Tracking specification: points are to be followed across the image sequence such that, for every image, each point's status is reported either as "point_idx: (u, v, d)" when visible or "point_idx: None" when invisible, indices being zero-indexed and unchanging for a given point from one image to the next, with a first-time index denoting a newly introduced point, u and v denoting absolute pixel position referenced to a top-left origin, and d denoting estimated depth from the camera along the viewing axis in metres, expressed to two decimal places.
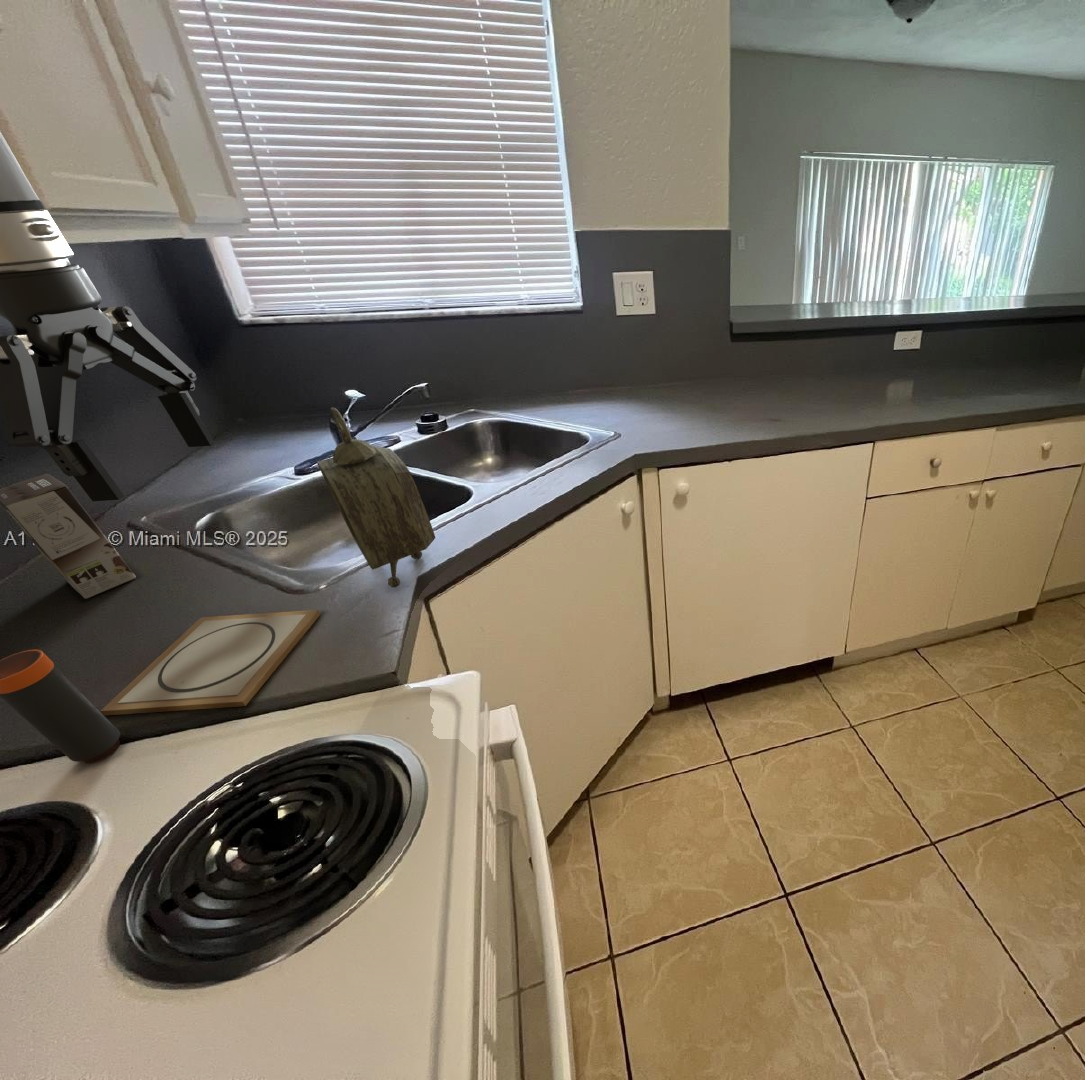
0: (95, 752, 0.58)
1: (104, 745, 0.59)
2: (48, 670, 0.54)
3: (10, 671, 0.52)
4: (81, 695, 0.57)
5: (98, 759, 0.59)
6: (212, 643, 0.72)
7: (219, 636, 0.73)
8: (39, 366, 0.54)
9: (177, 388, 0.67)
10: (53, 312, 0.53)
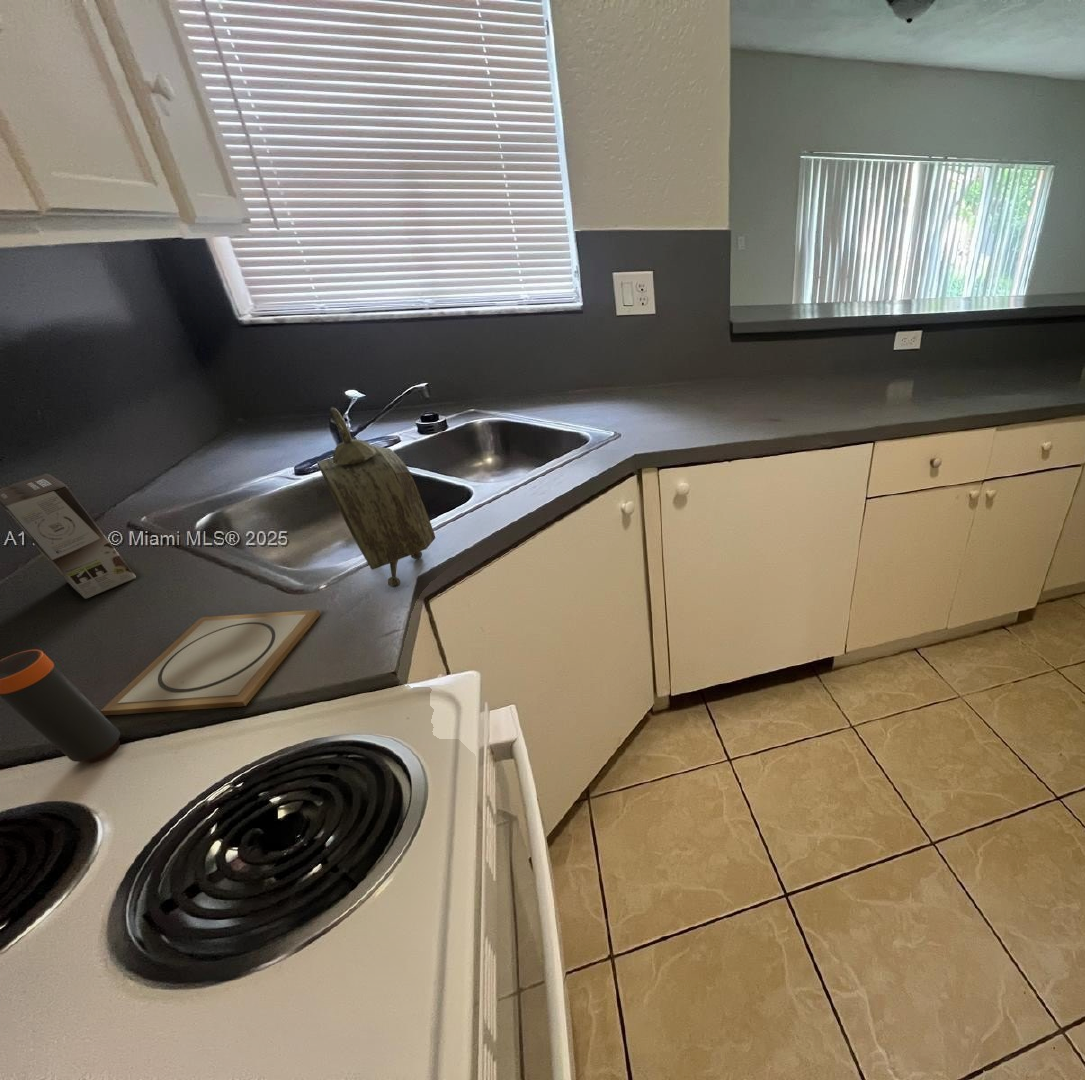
0: (95, 752, 0.58)
1: (104, 745, 0.59)
2: (48, 670, 0.54)
3: (10, 671, 0.52)
4: (81, 695, 0.57)
5: (98, 759, 0.59)
6: (212, 643, 0.72)
7: (219, 636, 0.73)
8: None
9: None
10: None
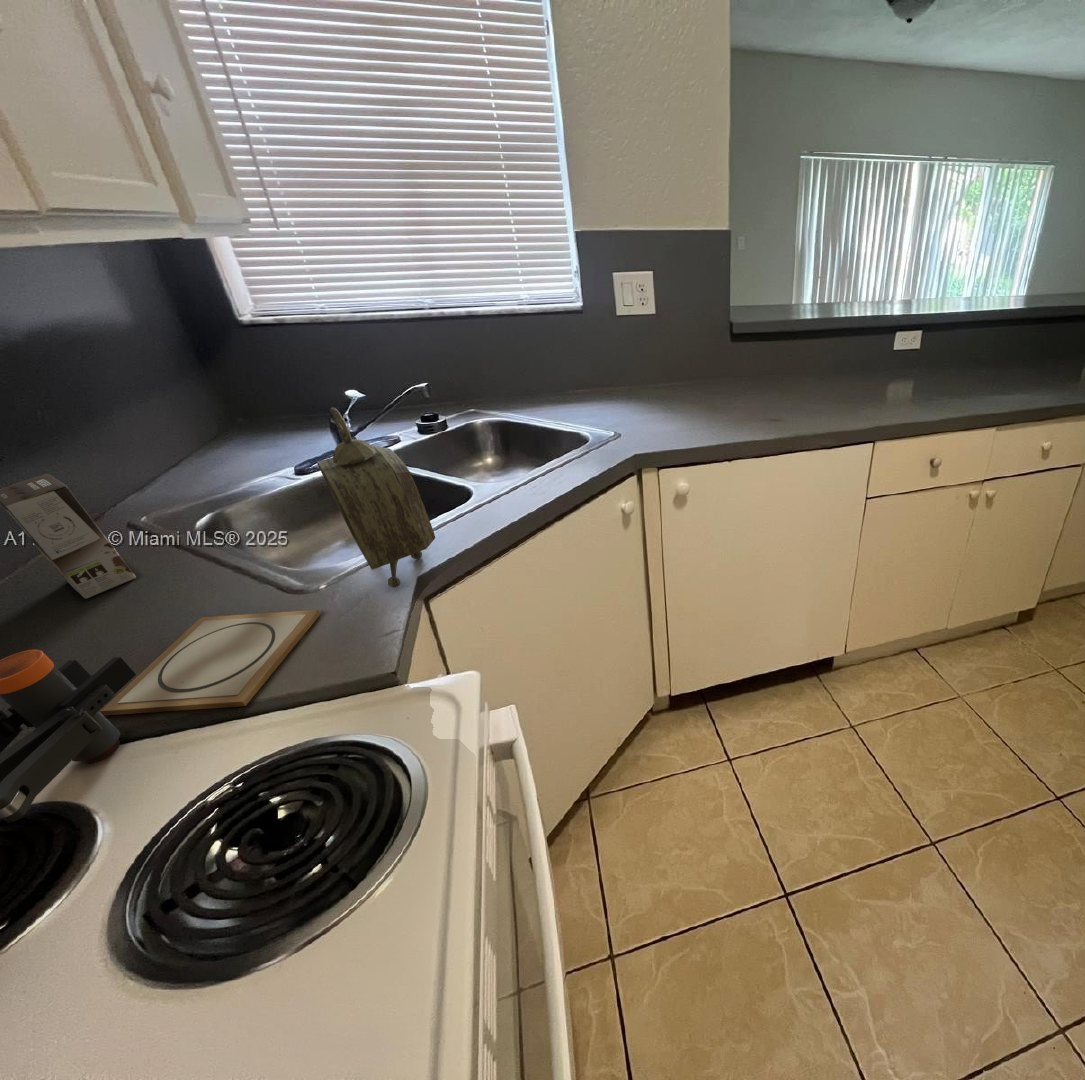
0: (95, 752, 0.58)
1: (104, 745, 0.59)
2: (48, 670, 0.54)
3: (10, 671, 0.52)
4: None
5: (98, 759, 0.59)
6: (212, 643, 0.72)
7: (219, 636, 0.73)
8: None
9: None
10: None
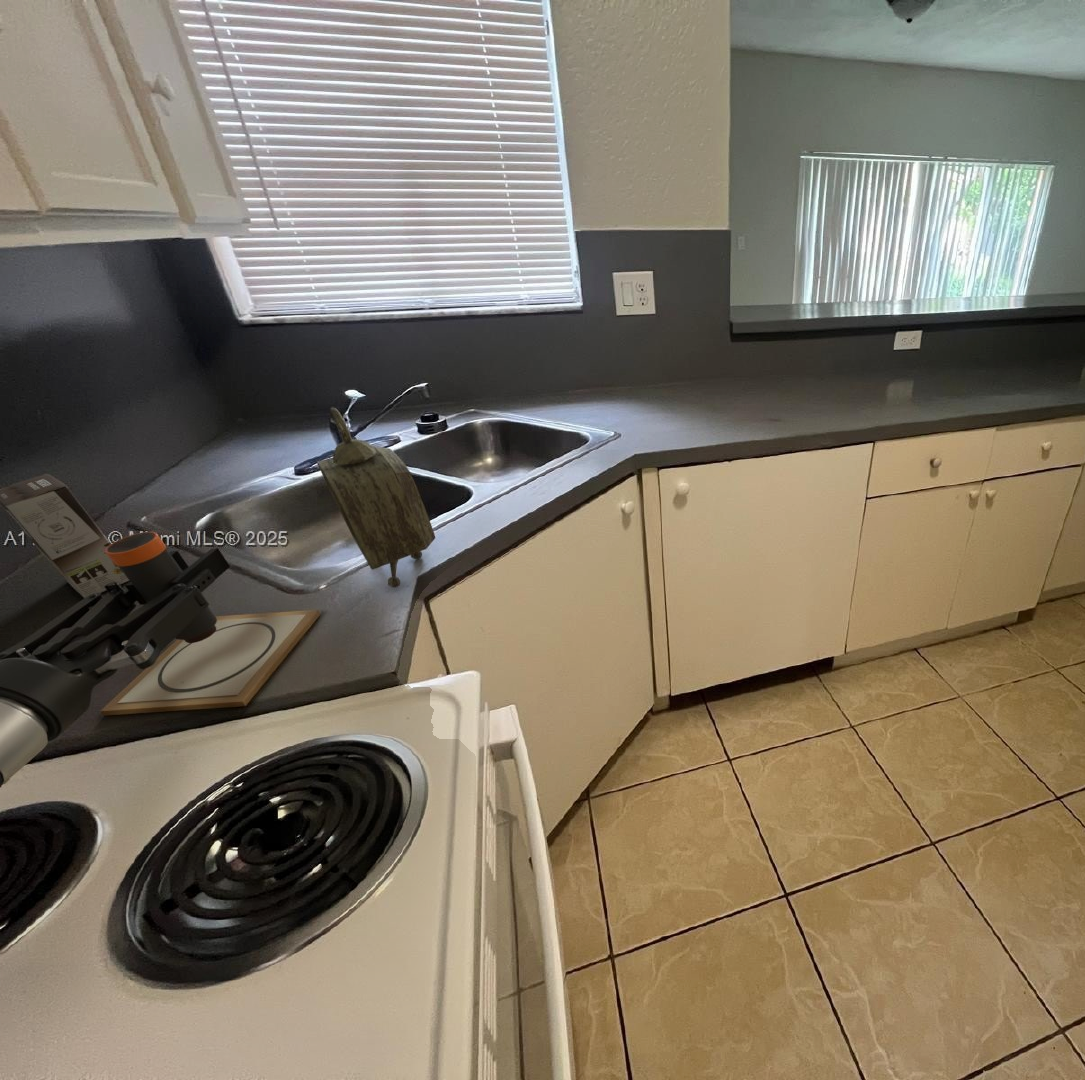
0: (198, 631, 0.64)
1: (205, 626, 0.65)
2: (162, 549, 0.60)
3: (131, 546, 0.58)
4: None
5: (199, 639, 0.65)
6: (212, 643, 0.72)
7: (219, 636, 0.73)
8: None
9: None
10: None
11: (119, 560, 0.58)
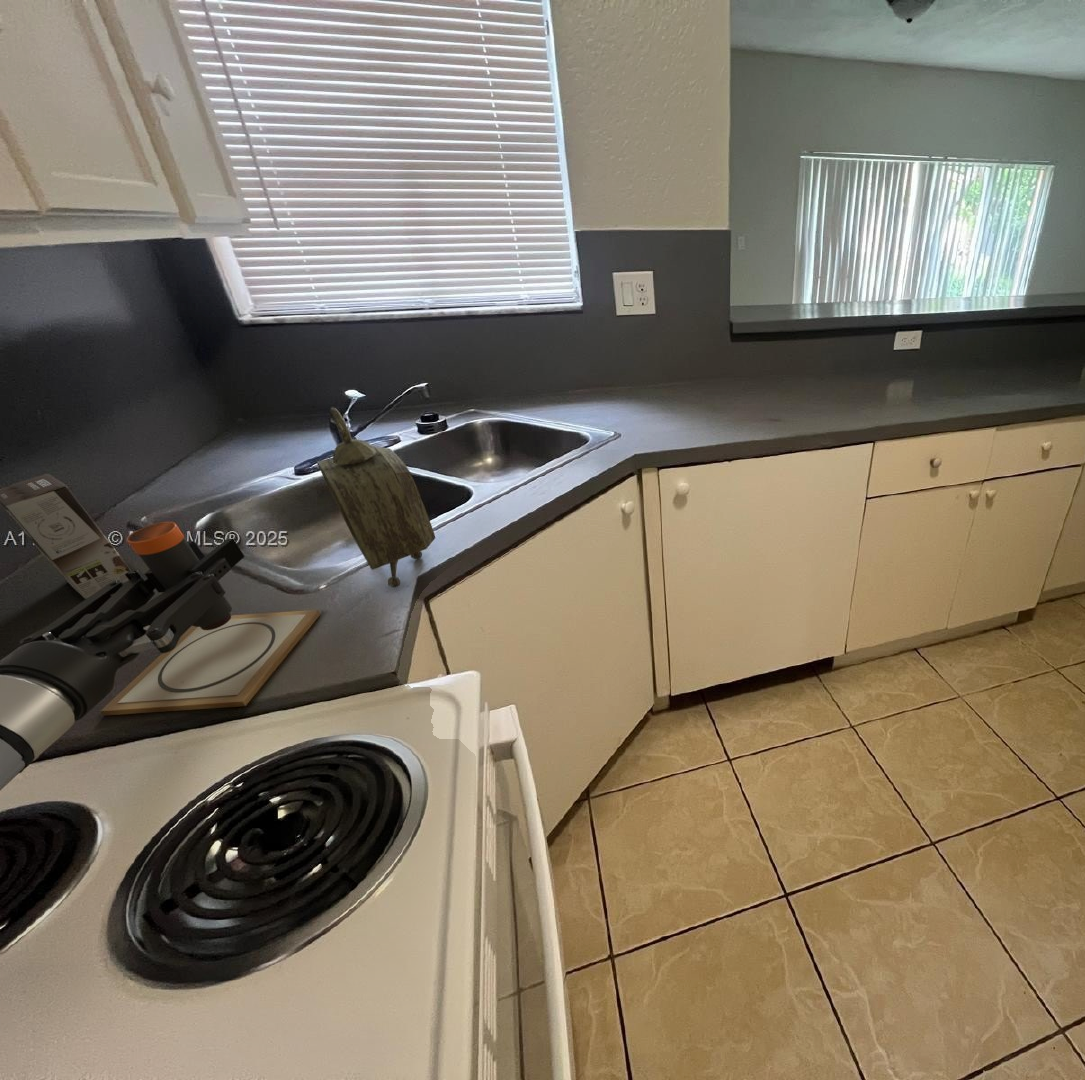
0: (214, 619, 0.66)
1: (221, 614, 0.67)
2: (180, 538, 0.62)
3: (151, 535, 0.60)
4: None
5: (215, 626, 0.67)
6: (212, 643, 0.72)
7: (219, 636, 0.73)
8: None
9: None
10: None
11: (140, 549, 0.60)
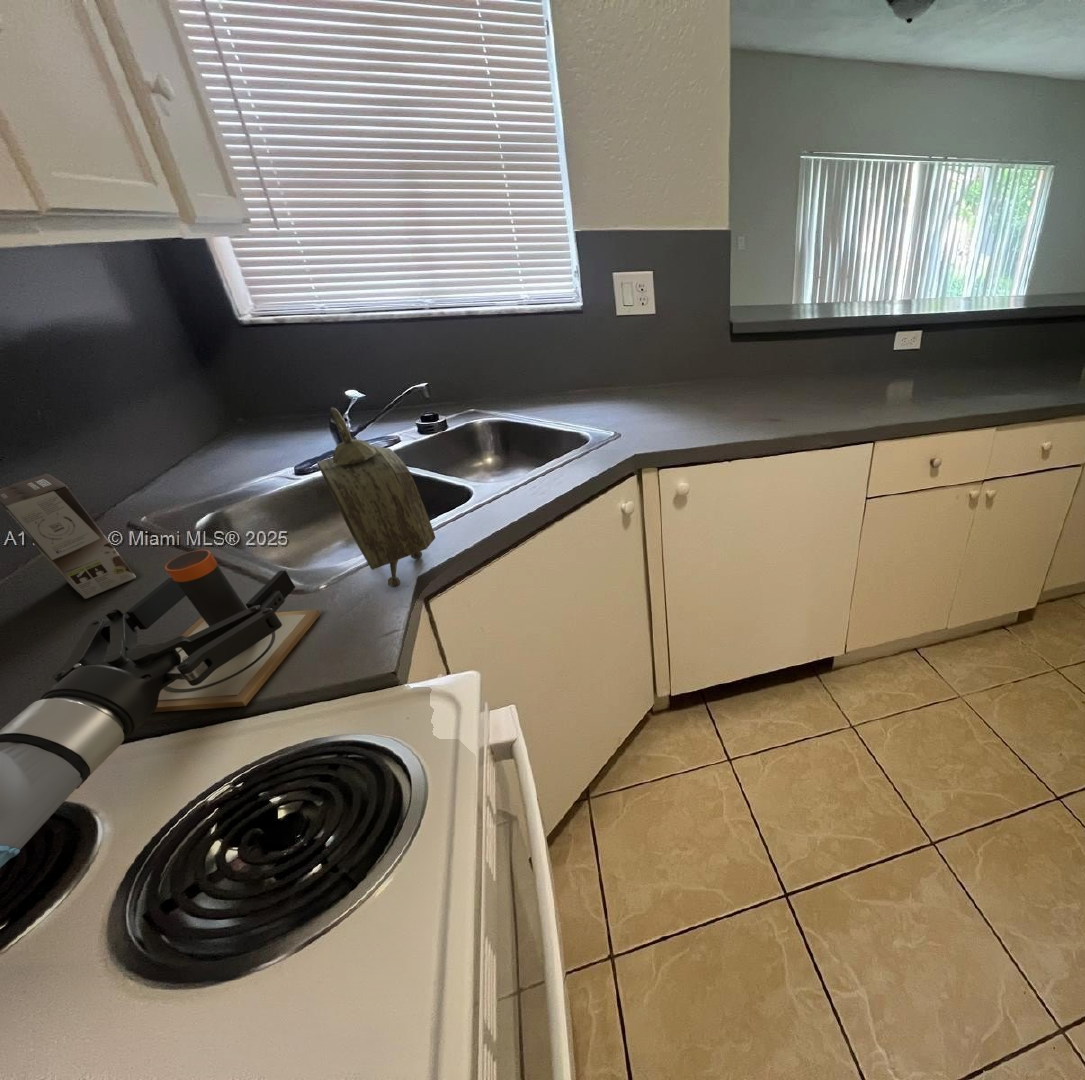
0: None
1: None
2: (214, 566, 0.66)
3: (188, 564, 0.64)
4: (234, 591, 0.69)
5: None
6: None
7: None
8: None
9: None
10: None
11: (178, 577, 0.64)
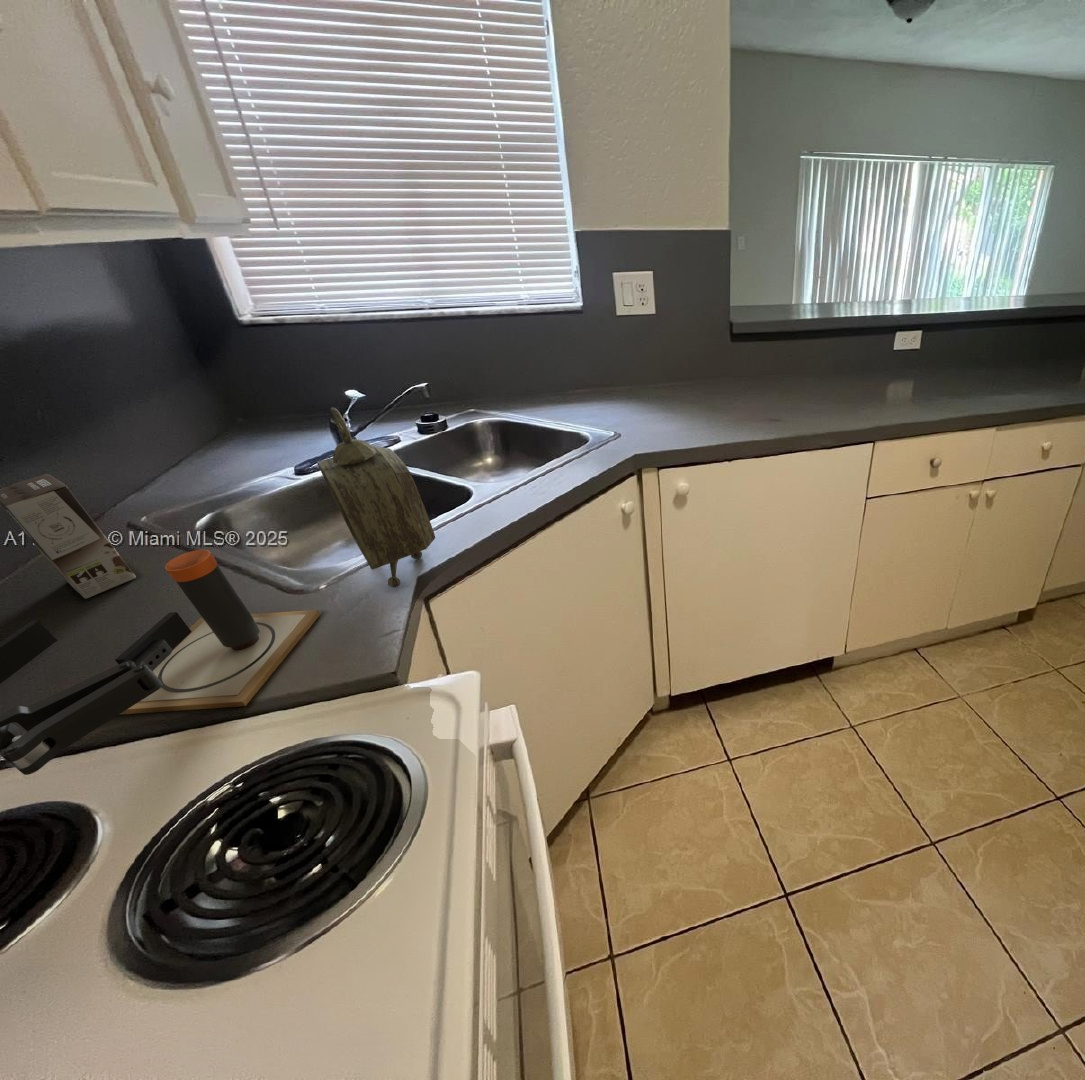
0: (244, 640, 0.70)
1: (250, 635, 0.71)
2: (214, 566, 0.66)
3: (188, 564, 0.64)
4: (234, 591, 0.69)
5: (244, 647, 0.71)
6: (212, 643, 0.72)
7: None
8: None
9: None
10: None
11: (178, 577, 0.64)
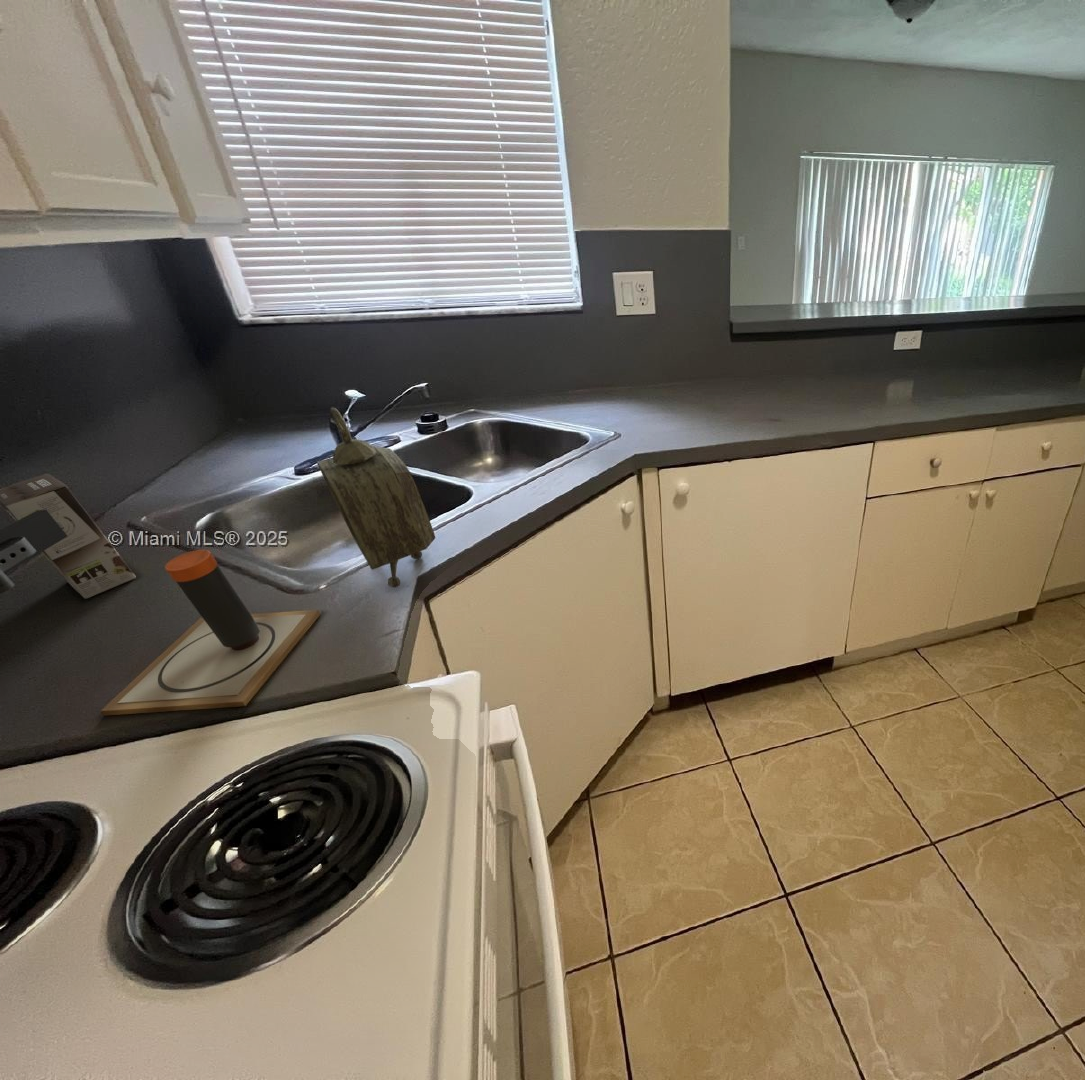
0: (244, 640, 0.70)
1: (250, 635, 0.71)
2: (214, 566, 0.66)
3: (188, 564, 0.64)
4: (234, 591, 0.69)
5: (244, 647, 0.71)
6: (212, 643, 0.72)
7: None
8: None
9: None
10: None
11: (178, 577, 0.64)
